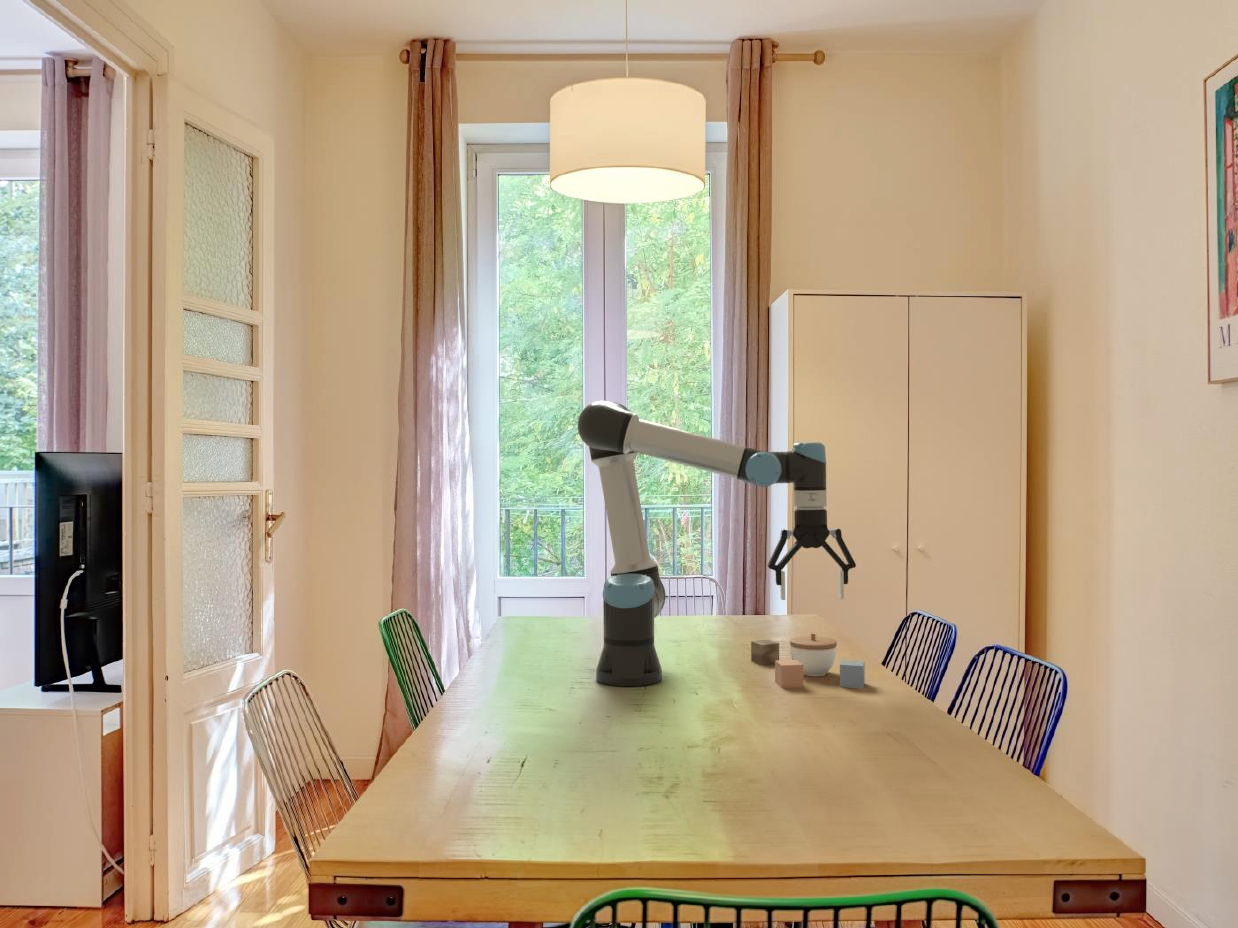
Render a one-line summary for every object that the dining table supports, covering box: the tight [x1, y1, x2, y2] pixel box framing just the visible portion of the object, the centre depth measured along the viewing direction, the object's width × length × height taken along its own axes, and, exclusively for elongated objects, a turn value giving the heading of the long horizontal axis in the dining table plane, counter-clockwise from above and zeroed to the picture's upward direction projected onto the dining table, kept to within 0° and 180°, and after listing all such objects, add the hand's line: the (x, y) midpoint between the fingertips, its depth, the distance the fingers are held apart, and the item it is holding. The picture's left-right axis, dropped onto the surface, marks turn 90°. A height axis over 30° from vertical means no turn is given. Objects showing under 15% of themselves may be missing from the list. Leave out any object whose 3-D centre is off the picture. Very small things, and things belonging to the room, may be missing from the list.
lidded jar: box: [789, 632, 838, 677], centre depth 231 cm, size 11×11×9 cm
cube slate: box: [839, 659, 866, 689], centre depth 220 cm, size 5×5×5 cm
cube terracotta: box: [774, 659, 804, 689], centre depth 220 cm, size 5×5×5 cm
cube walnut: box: [750, 639, 780, 666], centre depth 243 cm, size 5×5×5 cm
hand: (812, 598), depth 231 cm, fingers open, 13 cm apart
